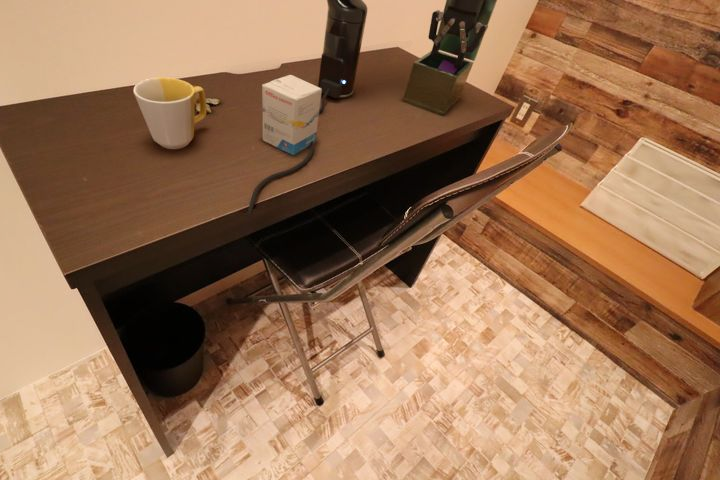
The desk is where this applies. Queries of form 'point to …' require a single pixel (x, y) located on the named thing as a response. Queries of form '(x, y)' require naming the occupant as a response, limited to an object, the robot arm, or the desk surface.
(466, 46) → the robot arm
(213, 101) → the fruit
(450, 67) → the chocolate
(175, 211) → the desk surface
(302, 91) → the ink box
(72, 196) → the desk surface
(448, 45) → the lid
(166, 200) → the desk surface
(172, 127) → the mug
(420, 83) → the bin
